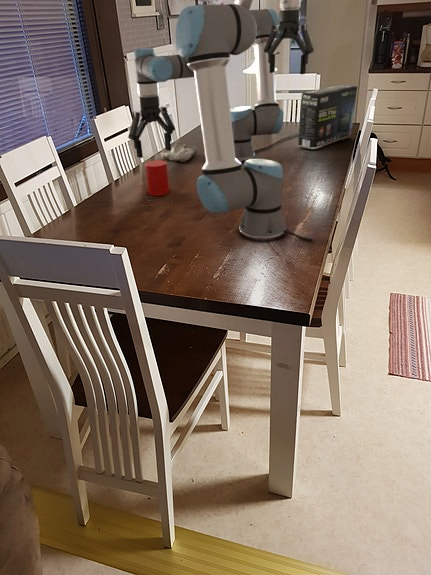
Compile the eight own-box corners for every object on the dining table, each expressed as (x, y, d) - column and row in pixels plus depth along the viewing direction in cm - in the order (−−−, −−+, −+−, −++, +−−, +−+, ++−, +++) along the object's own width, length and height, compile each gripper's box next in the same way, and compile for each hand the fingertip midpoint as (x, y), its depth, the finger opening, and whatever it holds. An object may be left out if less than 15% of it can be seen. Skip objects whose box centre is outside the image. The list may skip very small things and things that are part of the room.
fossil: (184, 156, 217) (163, 136, 220) (174, 174, 223) (154, 154, 227) (205, 153, 231) (186, 134, 234) (195, 171, 237) (176, 152, 240)
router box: (314, 151, 231) (318, 94, 217) (296, 148, 237) (299, 92, 224) (352, 138, 251) (358, 85, 238) (335, 135, 258) (340, 83, 245)
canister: (162, 187, 192) (159, 159, 186) (172, 192, 186) (170, 163, 180) (144, 191, 188) (141, 163, 182) (154, 197, 182) (151, 167, 176)
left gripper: (255, 10, 172) (254, 73, 183) (316, 8, 158) (311, 75, 169) (266, 10, 177) (265, 71, 188) (325, 8, 163) (320, 73, 174)
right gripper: (169, 90, 178) (173, 145, 189) (113, 99, 164) (122, 158, 175) (181, 92, 173) (185, 148, 184) (125, 101, 159) (133, 162, 170)
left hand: (287, 73), depth 178 cm, fingers open, 13 cm apart
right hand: (154, 153), depth 179 cm, fingers open, 13 cm apart
